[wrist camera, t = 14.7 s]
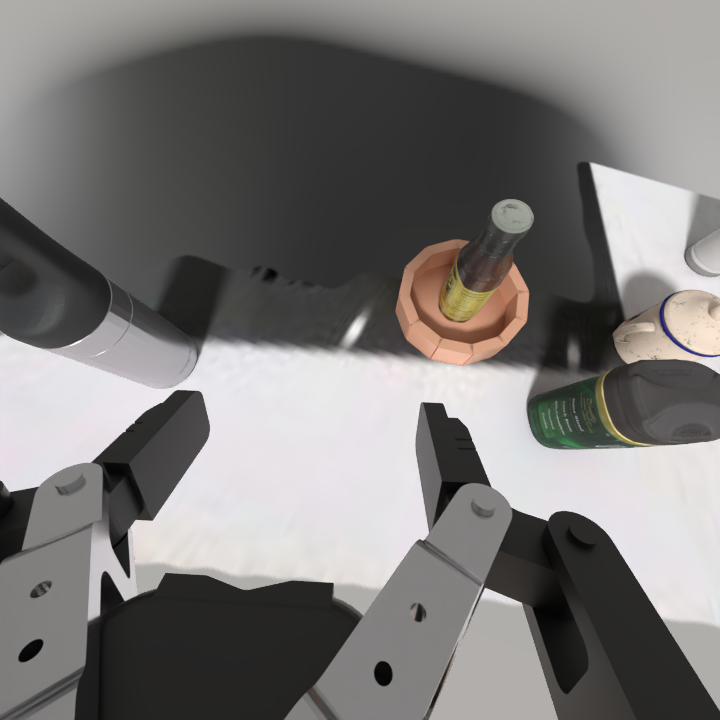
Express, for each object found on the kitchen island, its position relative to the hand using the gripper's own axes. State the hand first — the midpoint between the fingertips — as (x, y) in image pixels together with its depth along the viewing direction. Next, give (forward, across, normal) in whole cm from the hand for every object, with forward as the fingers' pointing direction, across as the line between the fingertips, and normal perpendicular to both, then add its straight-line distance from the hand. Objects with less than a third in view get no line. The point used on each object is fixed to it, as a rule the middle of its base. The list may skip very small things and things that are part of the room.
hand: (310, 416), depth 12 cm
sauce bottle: (+38, -15, +8) cm, 42 cm away
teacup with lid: (+36, -42, +12) cm, 56 cm away
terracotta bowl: (+39, -16, +8) cm, 43 cm away
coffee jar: (+27, -30, +20) cm, 45 cm away
